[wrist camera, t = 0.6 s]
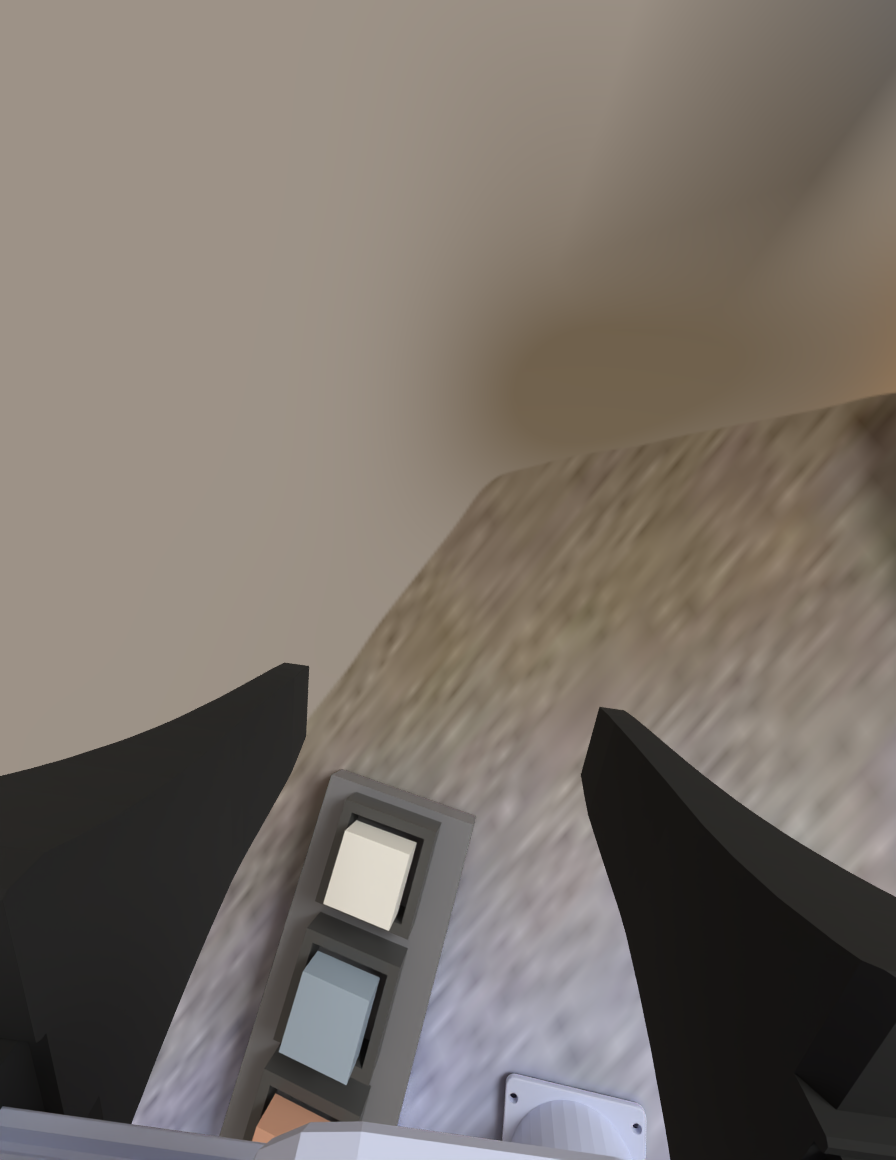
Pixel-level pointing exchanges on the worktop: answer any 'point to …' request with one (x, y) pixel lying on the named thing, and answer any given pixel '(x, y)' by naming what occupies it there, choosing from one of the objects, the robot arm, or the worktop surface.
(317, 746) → the worktop surface
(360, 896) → the off-white key
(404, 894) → the key panel
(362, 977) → the slate blue key
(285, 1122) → the terracotta key
